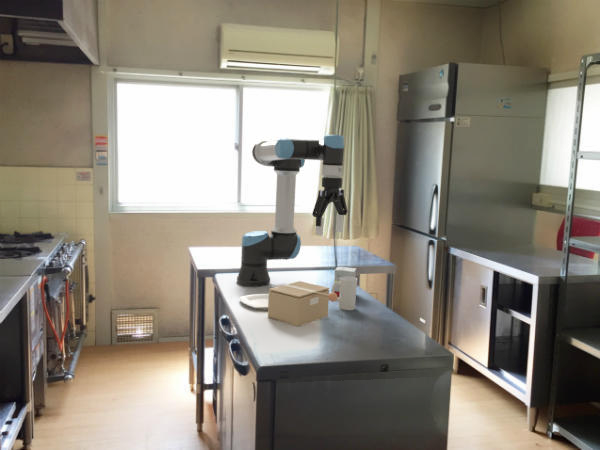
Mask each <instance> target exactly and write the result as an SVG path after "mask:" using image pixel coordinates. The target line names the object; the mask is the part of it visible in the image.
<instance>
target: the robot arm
mask: <svg viewBox="0 0 600 450" xmlns="http://www.w3.org/2000/svg"><path fill="white" fill-rule="evenodd" d="M344 150H345V137H344V136H343V135H341V134H325V135H324V137H323V140H322V139H321V140H319V139H302V138H301V139H300V138H299V139H297V138H289V137H288V138H285V137H284V138H278V139H276V140H275V139H274V140H272V139H266V140H265V139H264V140H261V141H257V142H256V143H255V144H254V146H253V148H252V151H251V152H252V153H251V154H252V157H253V159H254V161H255V162H256V163H258V164H260V165H262V166H266V167H272V168H273V171H274V172H275V173H276V190H275V191H276V193H275V210H274V211H275V215H274V218H275V219H274V227H272V228H271V232H270V234H269V232H268V231H265V230H256V231H255V230H254V231H249V232H246V233H244V234H243V235H242V240H241V243H240V244H241V258H240V260H241V261H240V262H241V263H240V269H239V272H238V275H237V277H236V283H237V284H238V285H240V286H245V287H255V288H256V287H266V286H269V285H271V277H270V275H269V270H268V261H273V260H276V261H277V260H285V261H287V260H293V259H296V258H297V257H298V255H299V254H300V250H301V246H302V244H301V243H302V242H301V237H300V235H299V234H298V233H297V230H296V229H295V225H294V224H295V221H294V220H295V204H296V182H297V181H296V180H297V175H298V173H300V169H301V168H303V167H304V166H305V162H306V160H308V161H309V160H310V161H311V160H312V161H315V160H316V161H322V169H321V175H322V176H323V177H322V178H321V187H322V188H323V189H321V190H320V189H318V193H317V198H316V200H315V201H316V202H315V204H314V207H313V210H312V213H311V215H312V217H313V218H315V235H316V236H322V237H323V235H324V217H323V216H324V214H325V213H326V210H327V208H328V207H329V206H328V205H329V204H331V203H333V206H334V208H335V209H336V211H337V214H336V216H335V217H336V219H335V220H336V221H335V222H336V223H335V232H338V233H343V231H344V219H345V217H344V216H346V215H347V213H348V209H347V208H348V207H347V202H346V199H345V190H344V189H341V188H342V187H343V178H342V176H343V170H344V168H343V167H344V156H345V155H344Z"/></svg>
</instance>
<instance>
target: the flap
mask: <svg viewBox="0 0 600 450" xmlns="http://www.w3.org/2000/svg"><path fill="white" fill-rule="evenodd" d="M325 290H330V287H327V286H323V285H320V284H319V285H318V284H314V283H309V282H305V281H301V280H299V281H295V282H291V283H286V284H283V285H279V286H276V287H270V288H269V289H268V291H274V292H278V293H282V294H286V295H290V296H294V297H298V298H300V297H304V296H307V295H311V294H317V295H321V296H325V297H328V298H329V301H330V302H332V303H334V302H335V301H336V300H337V298H338V297H337V294H336V293H334V292H329V295H328V294H324V293H319V292H321V291H325Z"/></svg>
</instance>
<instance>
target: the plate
mask: <svg viewBox="0 0 600 450" xmlns="http://www.w3.org/2000/svg"><path fill="white" fill-rule="evenodd" d="M268 298H269V293H254V294H247V295H243V296H242V295H241V296H239V300H240V302H241V303H242V304H244V305H245V306H248V307H250V308H252V309H255V310H268Z"/></svg>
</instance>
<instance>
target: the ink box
mask: <svg viewBox="0 0 600 450" xmlns="http://www.w3.org/2000/svg"><path fill="white" fill-rule="evenodd" d="M356 276H357V268H356V267H355V268H354V267H347V266H346V267H345V266H337V267H336V268H335V269H334V281H333V283H334V282H335V281H337V282H340V278H341V277H354V278H357V277H356ZM334 293H336V294H337V298H339V294H340V286H339V285H337V286H336V287H335V289H334Z"/></svg>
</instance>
